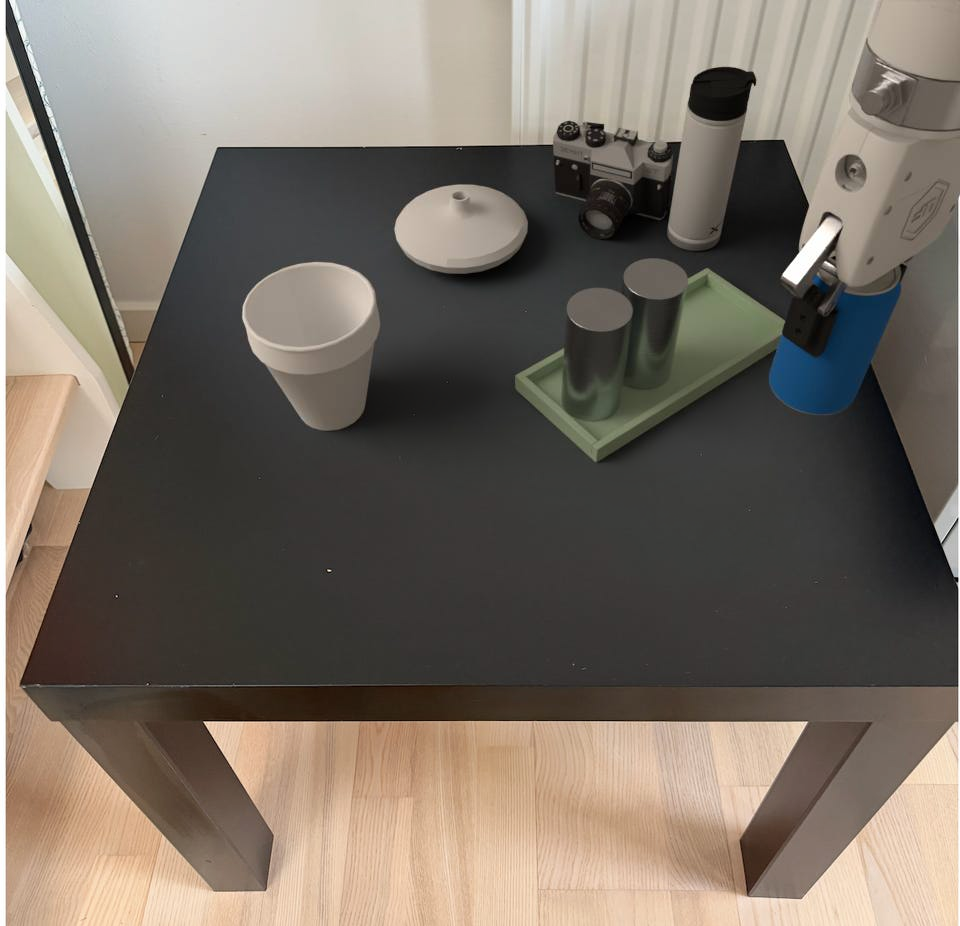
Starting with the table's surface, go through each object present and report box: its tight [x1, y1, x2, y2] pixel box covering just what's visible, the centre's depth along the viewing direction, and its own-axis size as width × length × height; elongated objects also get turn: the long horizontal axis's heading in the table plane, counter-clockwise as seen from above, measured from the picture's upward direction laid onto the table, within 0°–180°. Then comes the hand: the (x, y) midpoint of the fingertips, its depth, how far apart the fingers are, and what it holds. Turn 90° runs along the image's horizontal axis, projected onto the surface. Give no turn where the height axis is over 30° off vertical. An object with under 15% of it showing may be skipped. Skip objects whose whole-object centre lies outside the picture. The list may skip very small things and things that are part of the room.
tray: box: [514, 267, 786, 464], centre depth 95 cm, size 13×28×2 cm, turn 127°
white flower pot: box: [241, 261, 381, 432], centre depth 88 cm, size 12×12×14 cm
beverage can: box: [768, 251, 902, 416], centre depth 65 cm, size 6×6×12 cm
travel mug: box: [666, 66, 757, 252], centre depth 101 cm, size 6×7×20 cm
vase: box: [393, 184, 529, 275], centre depth 106 cm, size 16×16×7 cm
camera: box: [552, 120, 674, 240], centre depth 109 cm, size 15×11×10 cm
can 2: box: [620, 257, 689, 390], centre depth 90 cm, size 6×6×12 cm
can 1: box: [561, 287, 633, 421], centre depth 87 cm, size 6×6×12 cm
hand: (835, 321), depth 64 cm, fingers closed on beverage can, 6 cm apart
